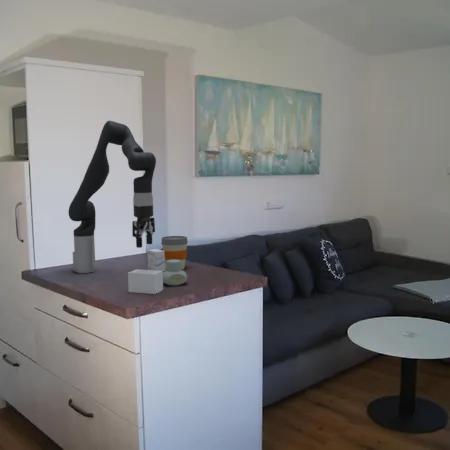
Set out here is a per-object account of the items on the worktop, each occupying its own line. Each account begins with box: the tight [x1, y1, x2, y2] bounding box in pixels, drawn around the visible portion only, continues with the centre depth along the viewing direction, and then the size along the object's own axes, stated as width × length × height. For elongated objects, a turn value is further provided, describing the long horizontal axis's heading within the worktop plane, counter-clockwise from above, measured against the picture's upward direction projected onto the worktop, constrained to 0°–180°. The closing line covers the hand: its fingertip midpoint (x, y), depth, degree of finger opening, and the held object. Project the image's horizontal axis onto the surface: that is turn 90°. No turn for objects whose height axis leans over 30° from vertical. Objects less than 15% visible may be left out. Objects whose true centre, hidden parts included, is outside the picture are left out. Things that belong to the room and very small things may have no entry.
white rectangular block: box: [127, 268, 164, 295], centre depth 200 cm, size 12×7×8 cm, turn 71°
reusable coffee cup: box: [160, 235, 188, 271], centre depth 243 cm, size 13×12×15 cm
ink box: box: [146, 248, 166, 273], centre depth 227 cm, size 9×5×12 cm, turn 33°
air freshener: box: [163, 260, 188, 287], centre depth 211 cm, size 11×8×10 cm
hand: (144, 245), depth 198 cm, fingers open, 8 cm apart
